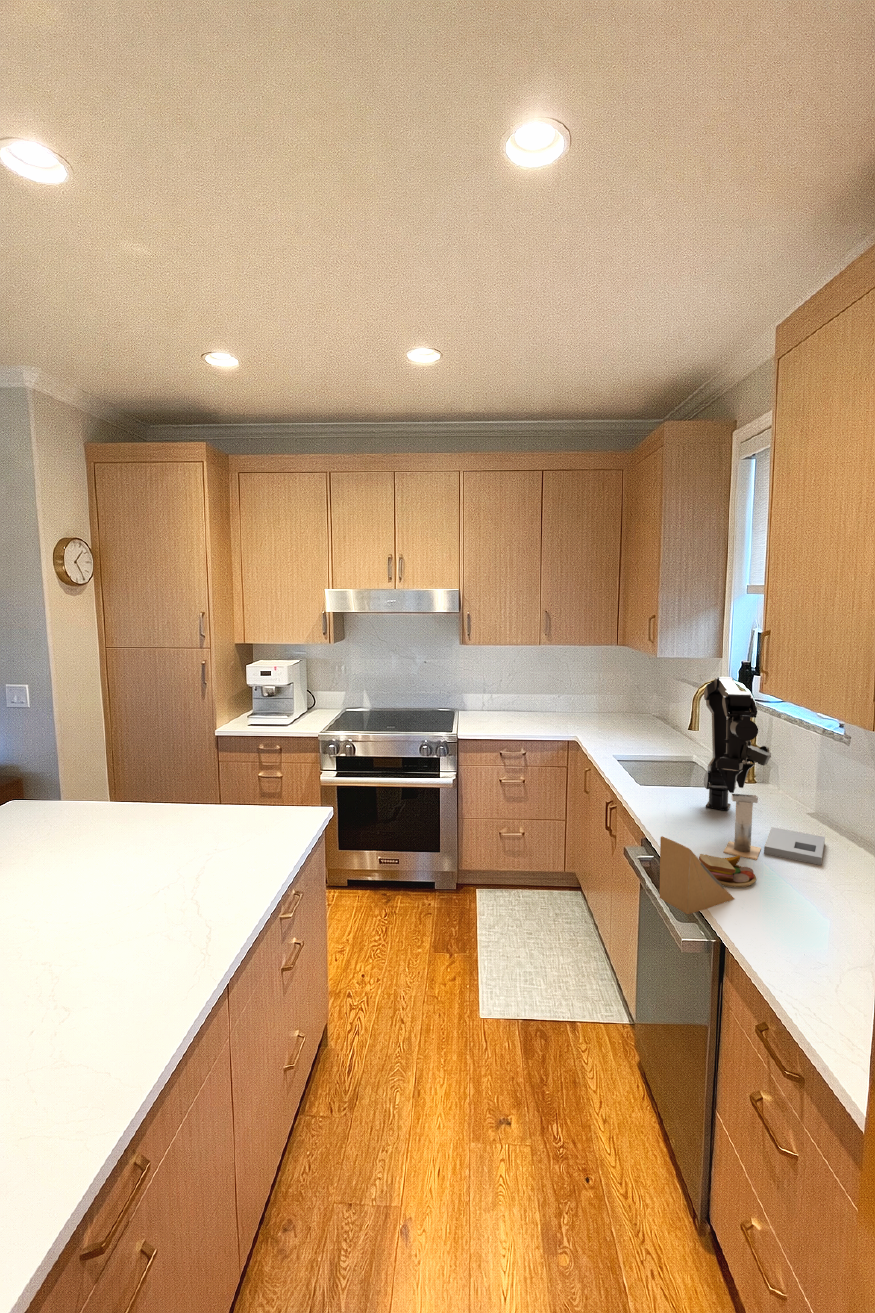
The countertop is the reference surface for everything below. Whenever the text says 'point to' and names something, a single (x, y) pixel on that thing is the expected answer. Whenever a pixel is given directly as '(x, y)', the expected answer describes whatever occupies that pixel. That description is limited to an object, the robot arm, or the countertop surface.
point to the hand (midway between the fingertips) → (736, 790)
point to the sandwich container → (687, 880)
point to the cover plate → (795, 845)
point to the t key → (743, 821)
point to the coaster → (752, 854)
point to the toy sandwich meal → (728, 871)
